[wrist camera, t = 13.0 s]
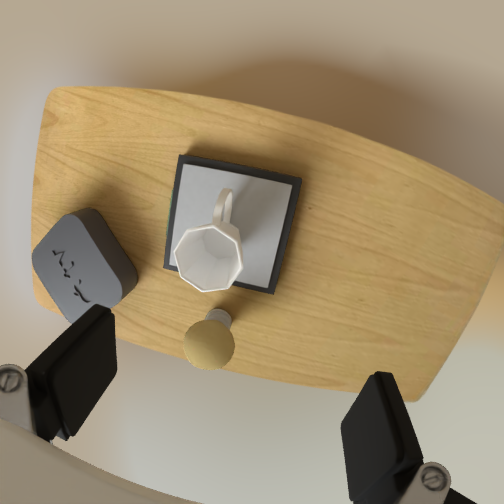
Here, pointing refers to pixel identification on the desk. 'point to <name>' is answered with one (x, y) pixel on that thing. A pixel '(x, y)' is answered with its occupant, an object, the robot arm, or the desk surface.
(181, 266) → the cup
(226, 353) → the light bulb
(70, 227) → the streaming box
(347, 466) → the robot arm
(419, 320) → the desk surface
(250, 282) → the scale
